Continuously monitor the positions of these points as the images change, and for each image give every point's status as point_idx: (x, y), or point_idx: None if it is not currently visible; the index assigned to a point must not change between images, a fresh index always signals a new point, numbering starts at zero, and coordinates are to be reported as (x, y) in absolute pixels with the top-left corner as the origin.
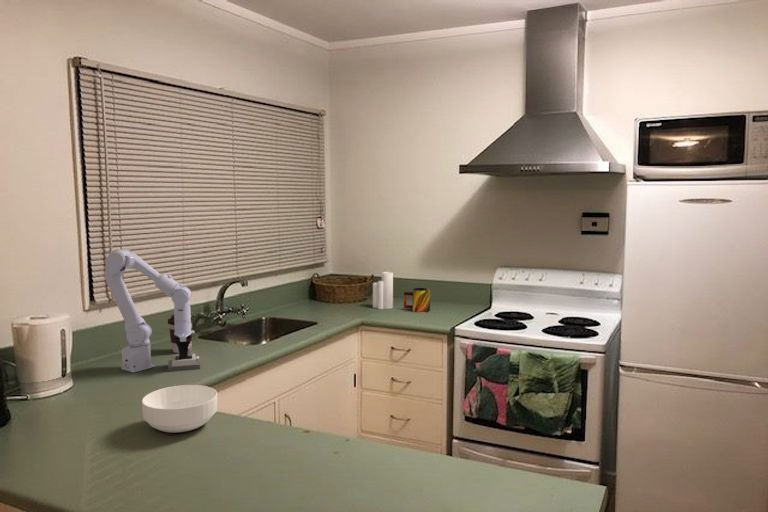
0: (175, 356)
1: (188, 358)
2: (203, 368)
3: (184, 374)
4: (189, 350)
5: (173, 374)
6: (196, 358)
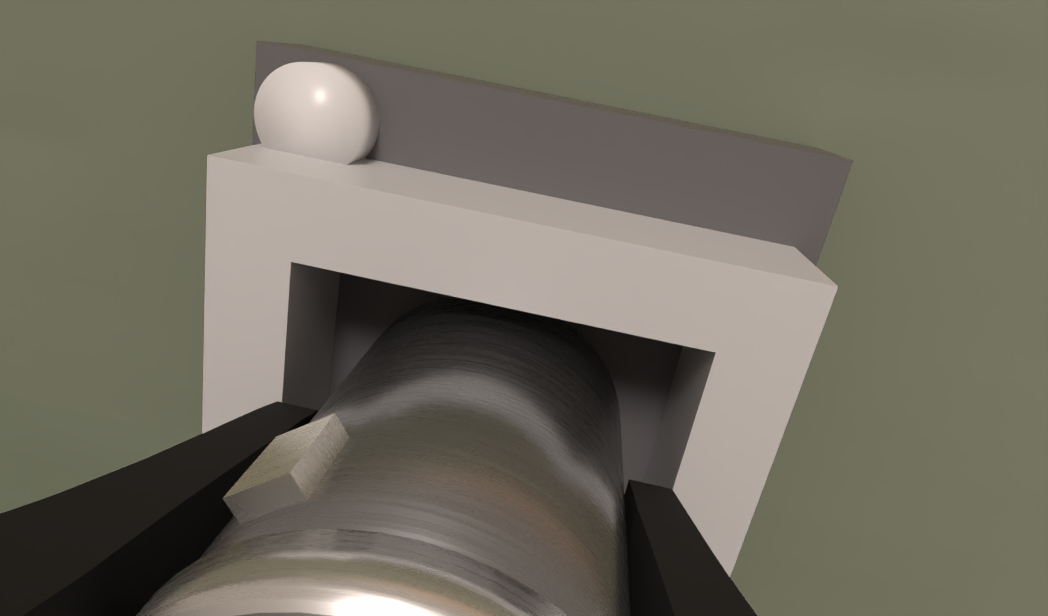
0: None
1: (610, 414)
2: (827, 67)
3: (992, 477)
4: (585, 508)
5: (863, 610)
6: (366, 141)
